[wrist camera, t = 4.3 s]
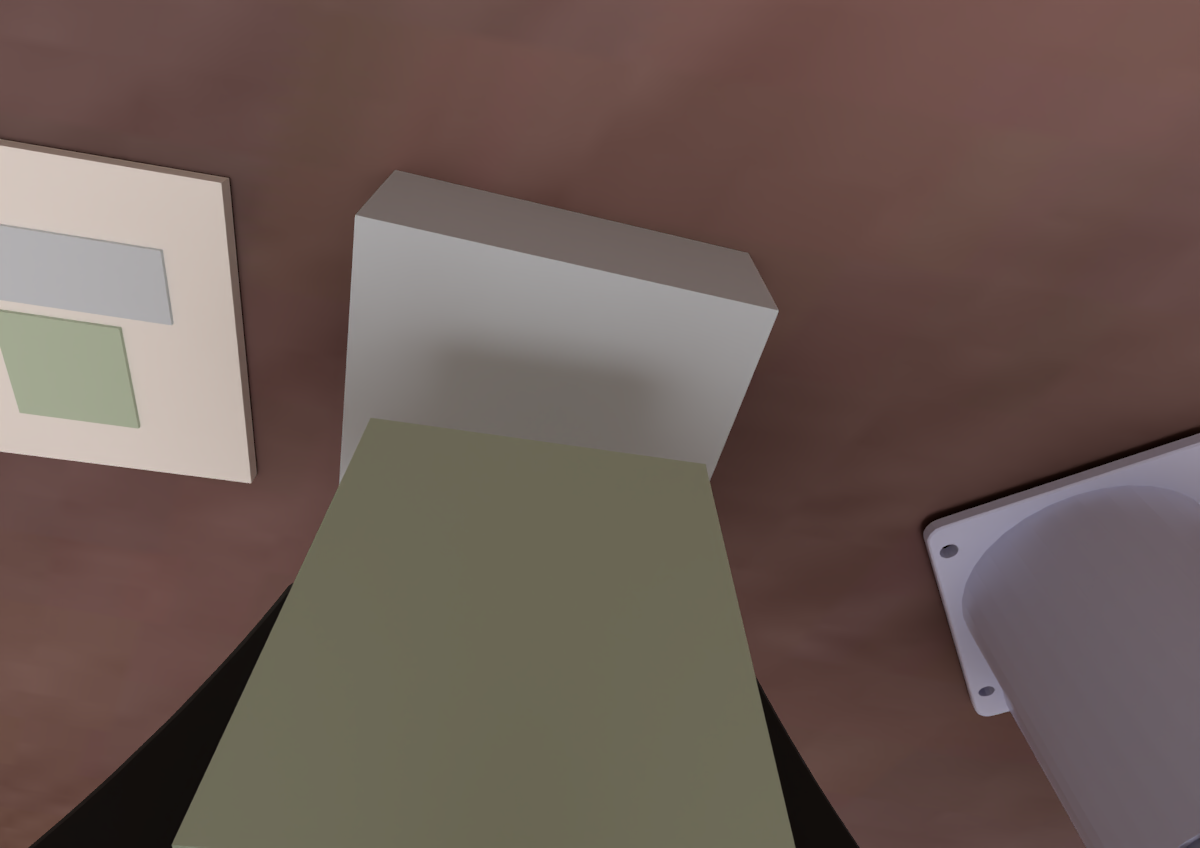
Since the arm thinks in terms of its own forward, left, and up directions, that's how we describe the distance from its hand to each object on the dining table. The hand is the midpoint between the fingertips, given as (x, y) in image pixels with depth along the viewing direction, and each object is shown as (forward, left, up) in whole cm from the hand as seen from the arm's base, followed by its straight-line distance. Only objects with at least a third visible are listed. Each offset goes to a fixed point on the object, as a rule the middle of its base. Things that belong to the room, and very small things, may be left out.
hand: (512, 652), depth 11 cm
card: (+6, +9, -9) cm, 14 cm away
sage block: (0, 0, -2) cm, 2 cm away
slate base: (0, 0, -9) cm, 9 cm away
